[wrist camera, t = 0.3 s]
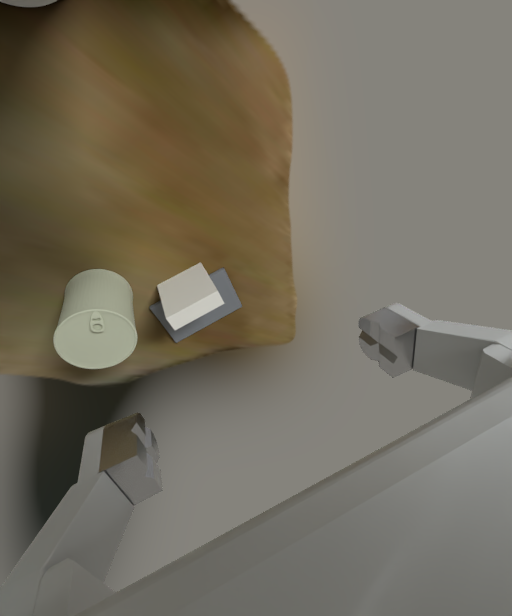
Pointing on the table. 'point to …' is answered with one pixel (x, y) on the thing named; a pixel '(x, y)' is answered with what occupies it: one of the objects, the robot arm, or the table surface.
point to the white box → (188, 296)
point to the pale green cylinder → (96, 320)
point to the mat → (230, 305)
